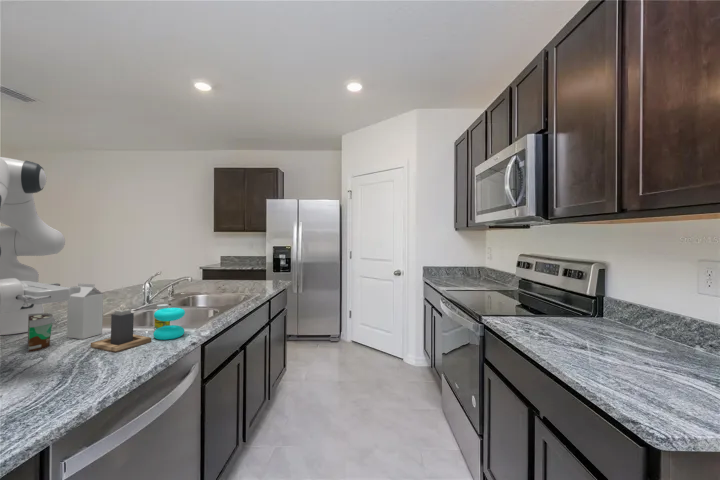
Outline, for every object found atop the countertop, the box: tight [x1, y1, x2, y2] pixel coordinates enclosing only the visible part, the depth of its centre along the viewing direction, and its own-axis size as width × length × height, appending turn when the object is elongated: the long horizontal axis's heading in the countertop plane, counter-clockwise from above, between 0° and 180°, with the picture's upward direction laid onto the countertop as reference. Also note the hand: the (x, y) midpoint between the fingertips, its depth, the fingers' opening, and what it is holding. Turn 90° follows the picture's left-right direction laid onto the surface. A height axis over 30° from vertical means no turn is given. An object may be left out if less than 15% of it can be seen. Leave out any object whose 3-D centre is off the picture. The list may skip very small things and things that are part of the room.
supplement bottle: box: [153, 303, 171, 331], centre depth 130 cm, size 5×5×10 cm
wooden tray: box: [90, 333, 152, 354], centre depth 110 cm, size 12×12×2 cm
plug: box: [110, 304, 135, 345], centre depth 110 cm, size 4×4×13 cm
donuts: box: [152, 307, 186, 341], centre depth 121 cm, size 10×10×10 cm
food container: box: [27, 312, 56, 353], centre depth 107 cm, size 12×6×10 cm, turn 47°
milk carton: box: [66, 282, 104, 340], centre depth 118 cm, size 7×7×19 cm
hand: (68, 287), depth 98 cm, fingers open, 8 cm apart
